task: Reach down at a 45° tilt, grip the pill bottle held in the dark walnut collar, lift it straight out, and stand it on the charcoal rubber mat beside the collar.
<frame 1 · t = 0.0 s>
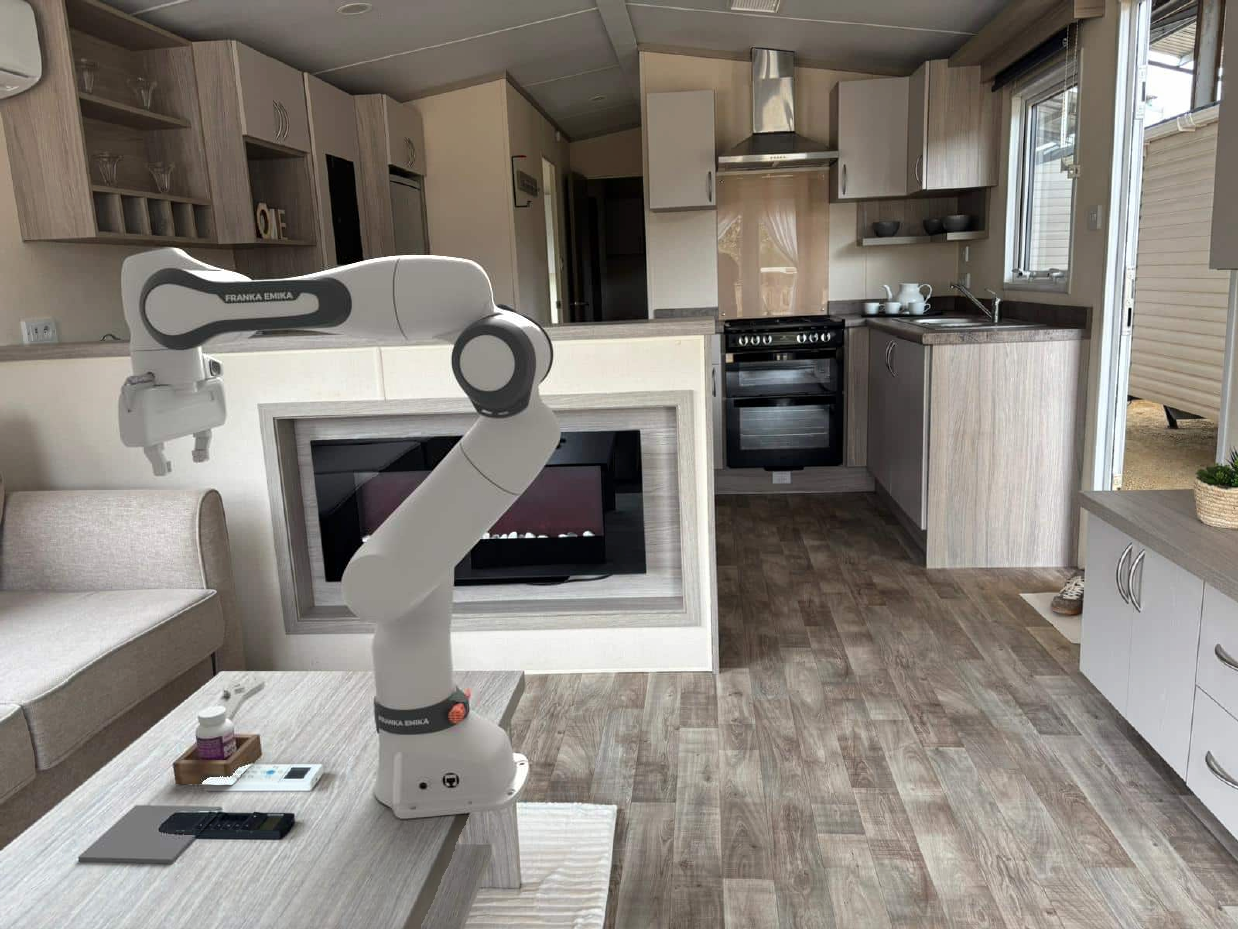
hand: (183, 468, 127), 48 cm above the table, tool pointing down, fingers open, 8 cm apart
adjustable wrench: (227, 715, 159), on the table
charcoal mat: (153, 834, 123), on the table
walnut collar: (220, 769, 140), on the table
pill bottle: (220, 770, 140), resting in walnut collar
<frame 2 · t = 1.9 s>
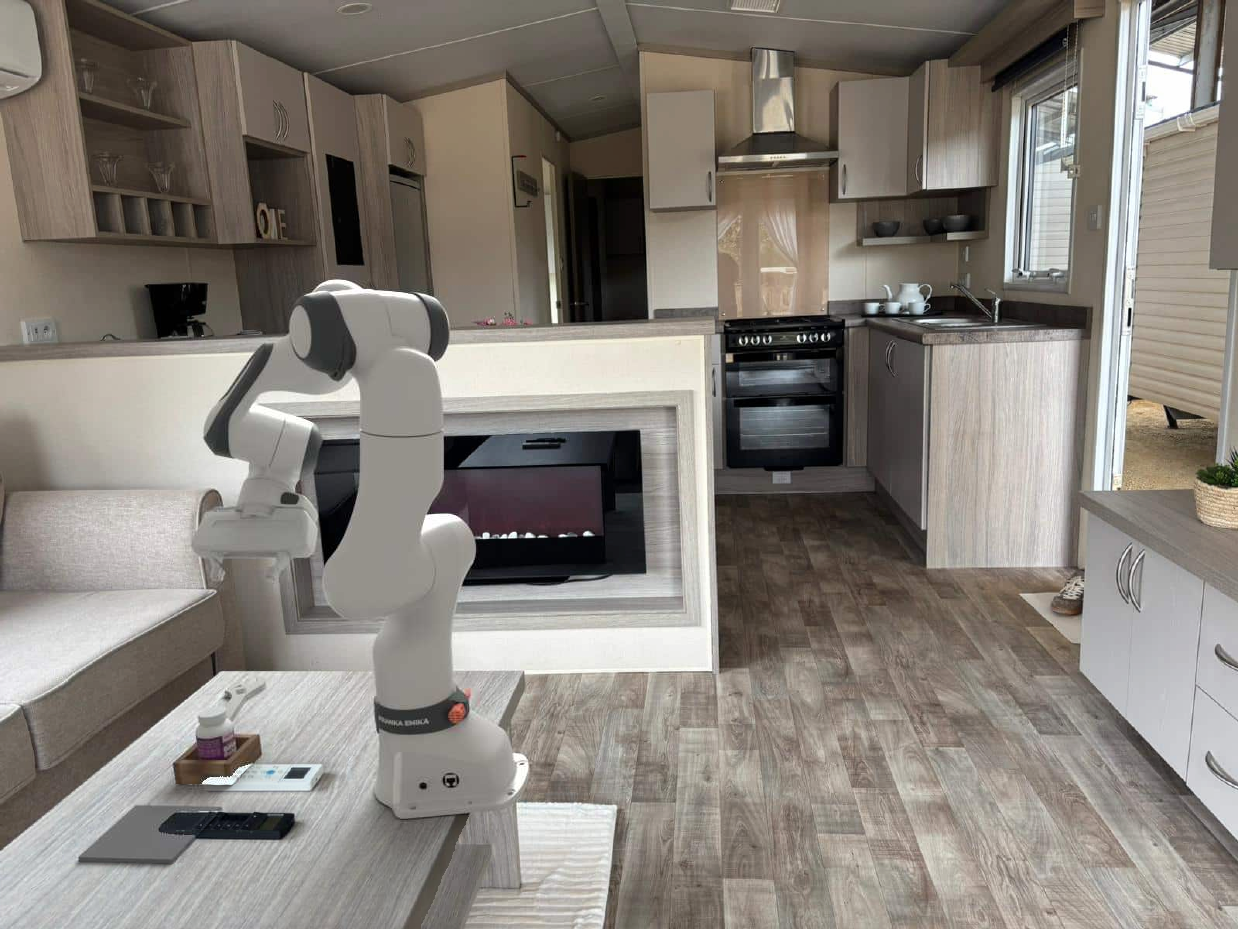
hand: (243, 579, 148), 26 cm above the table, tool tilted 45°, fingers open, 8 cm apart
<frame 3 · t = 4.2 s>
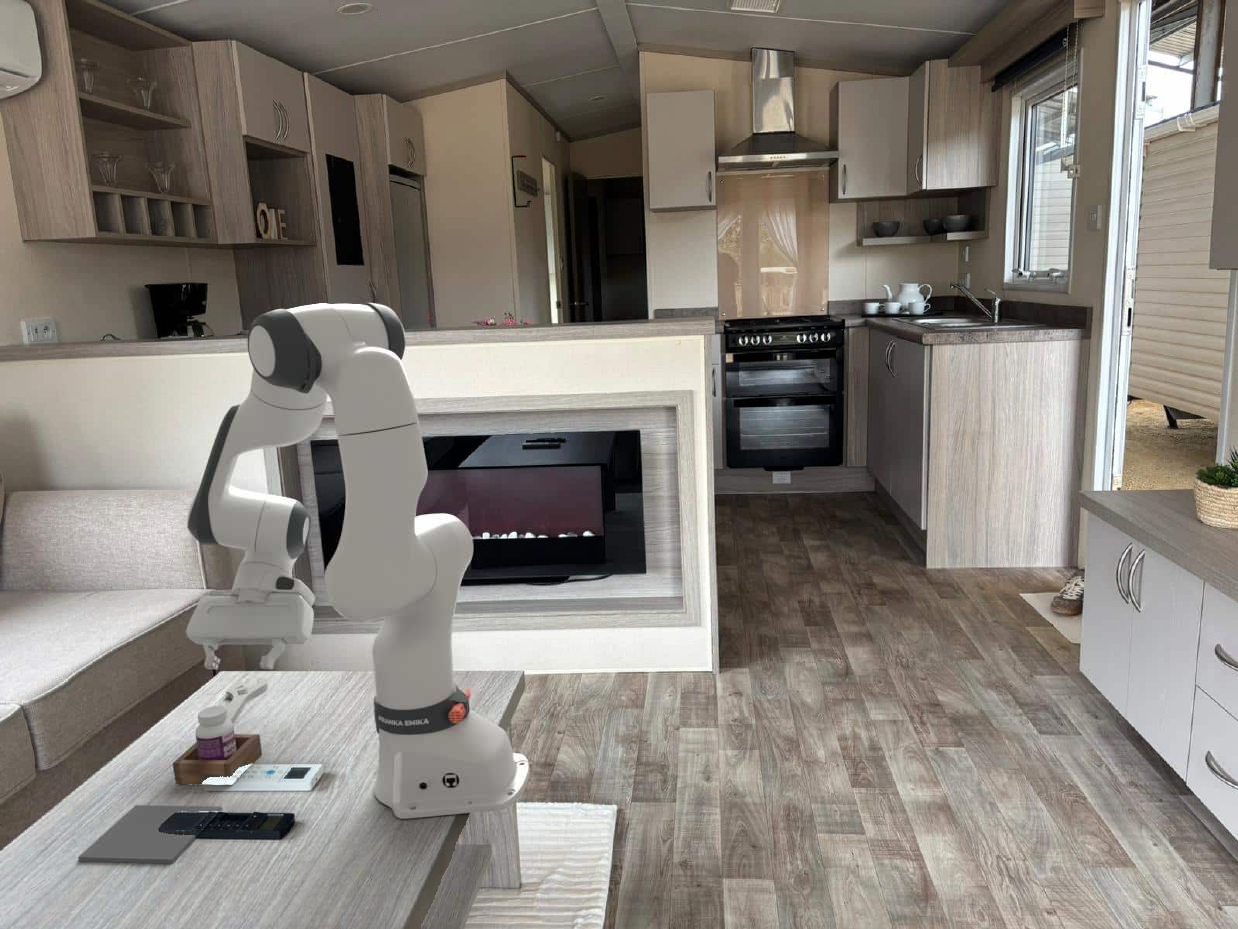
hand: (238, 668, 146), 13 cm above the table, tool tilted 45°, fingers open, 8 cm apart
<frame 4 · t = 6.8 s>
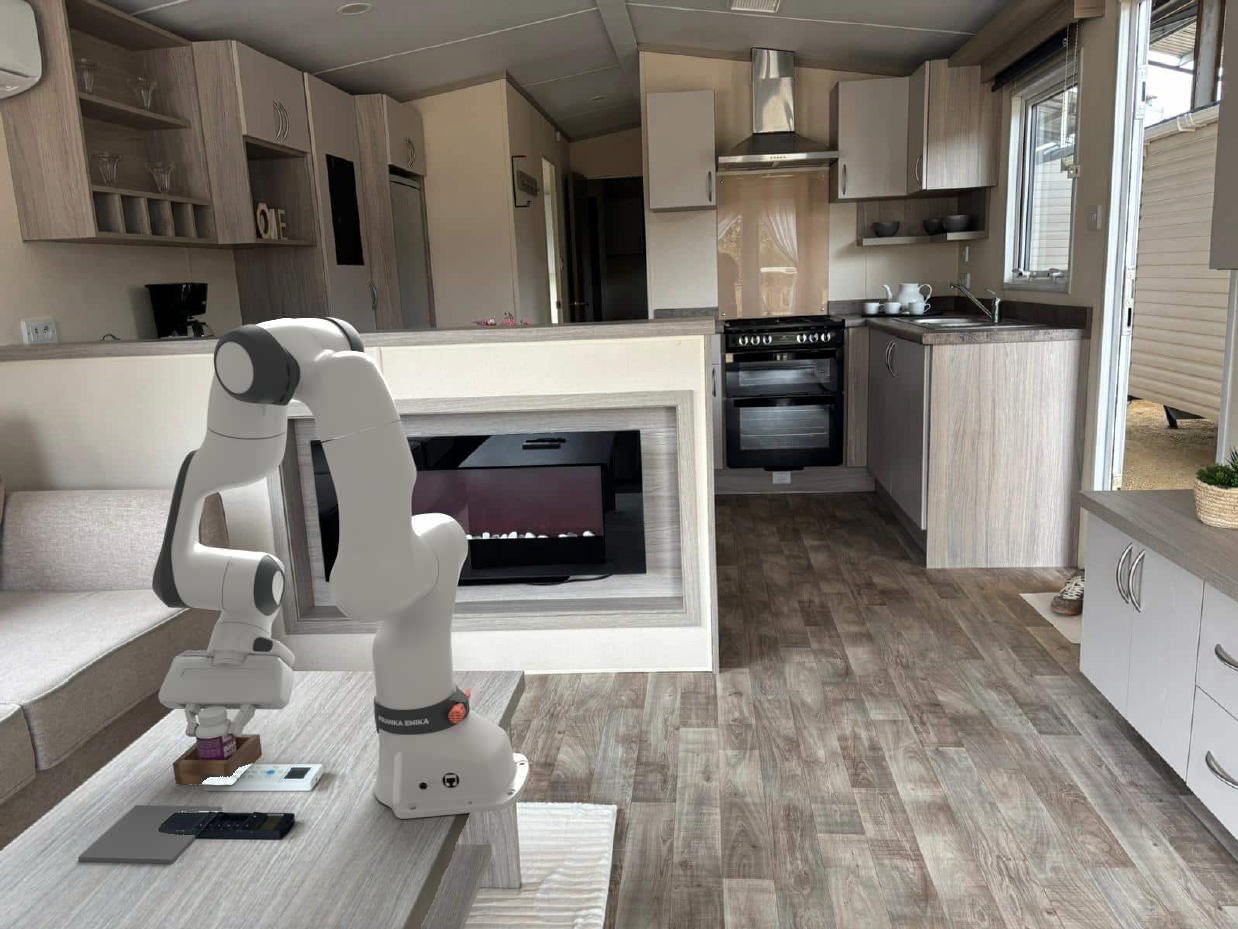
hand: (212, 736, 138), 6 cm above the table, tool tilted 45°, fingers closed on pill bottle, 5 cm apart
pill bottle: (220, 770, 140), resting in walnut collar, touching gripper
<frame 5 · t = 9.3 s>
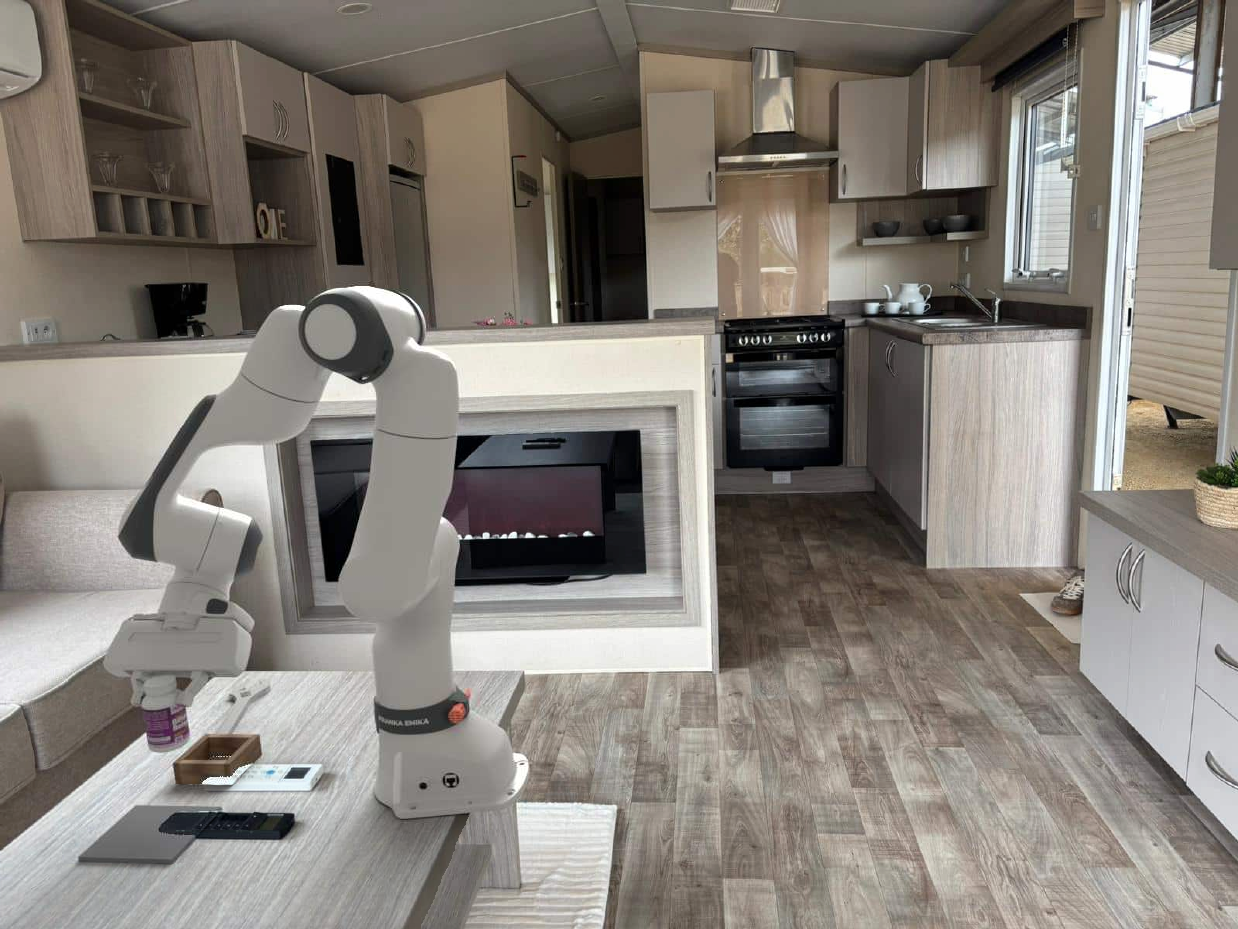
hand: (160, 705, 125), 16 cm above the table, tool tilted 45°, fingers closed on pill bottle, 5 cm apart
pill bottle: (170, 745, 127), point 10 cm above the table, touching gripper
when the fingers open (8 cm above the table, at t = 11.8 s): pill bottle stays where it is, resting on charcoal mat.
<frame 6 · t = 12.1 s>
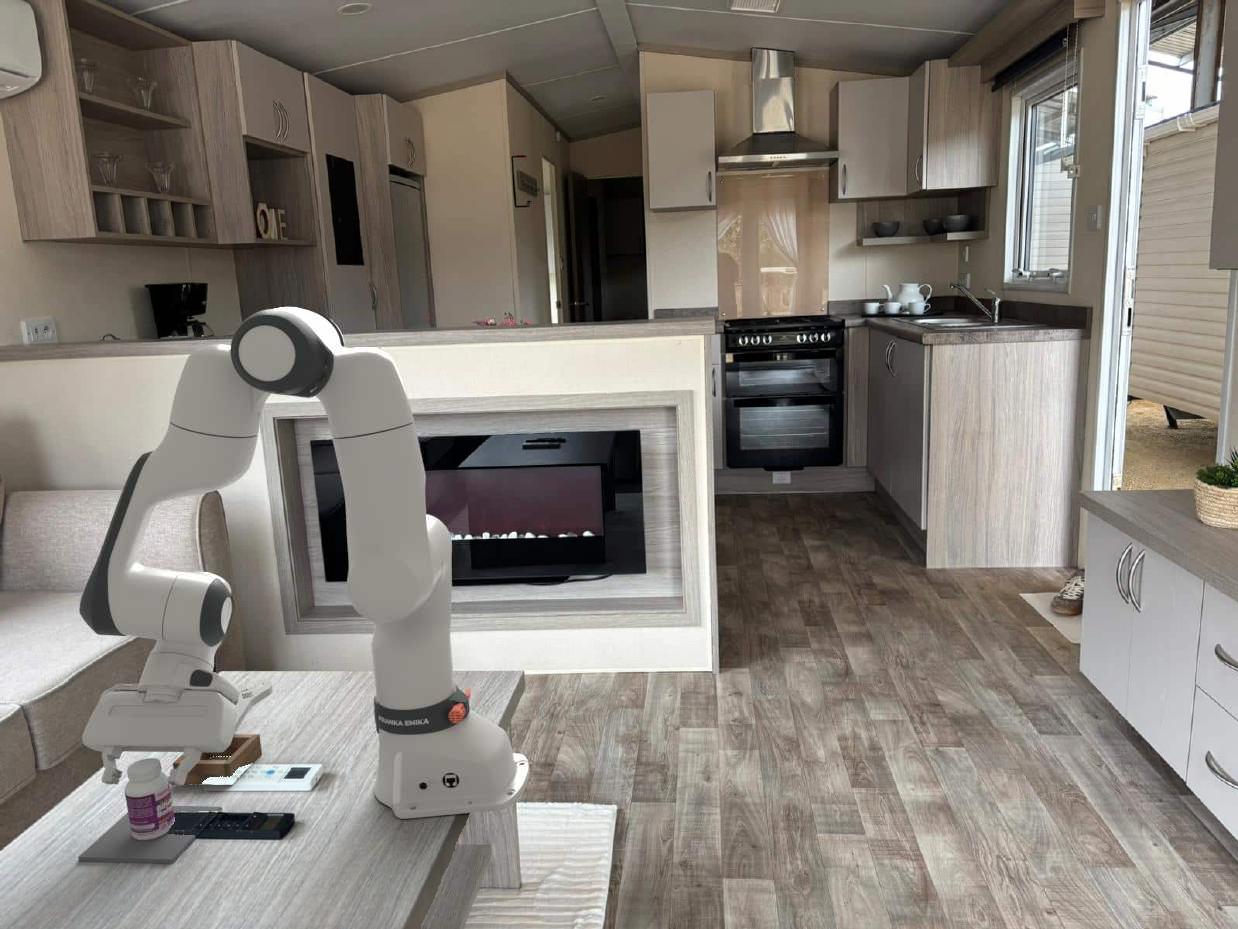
hand: (142, 784, 121), 8 cm above the table, tool tilted 45°, fingers open, 8 cm apart
pill bottle: (154, 831, 123), resting on charcoal mat
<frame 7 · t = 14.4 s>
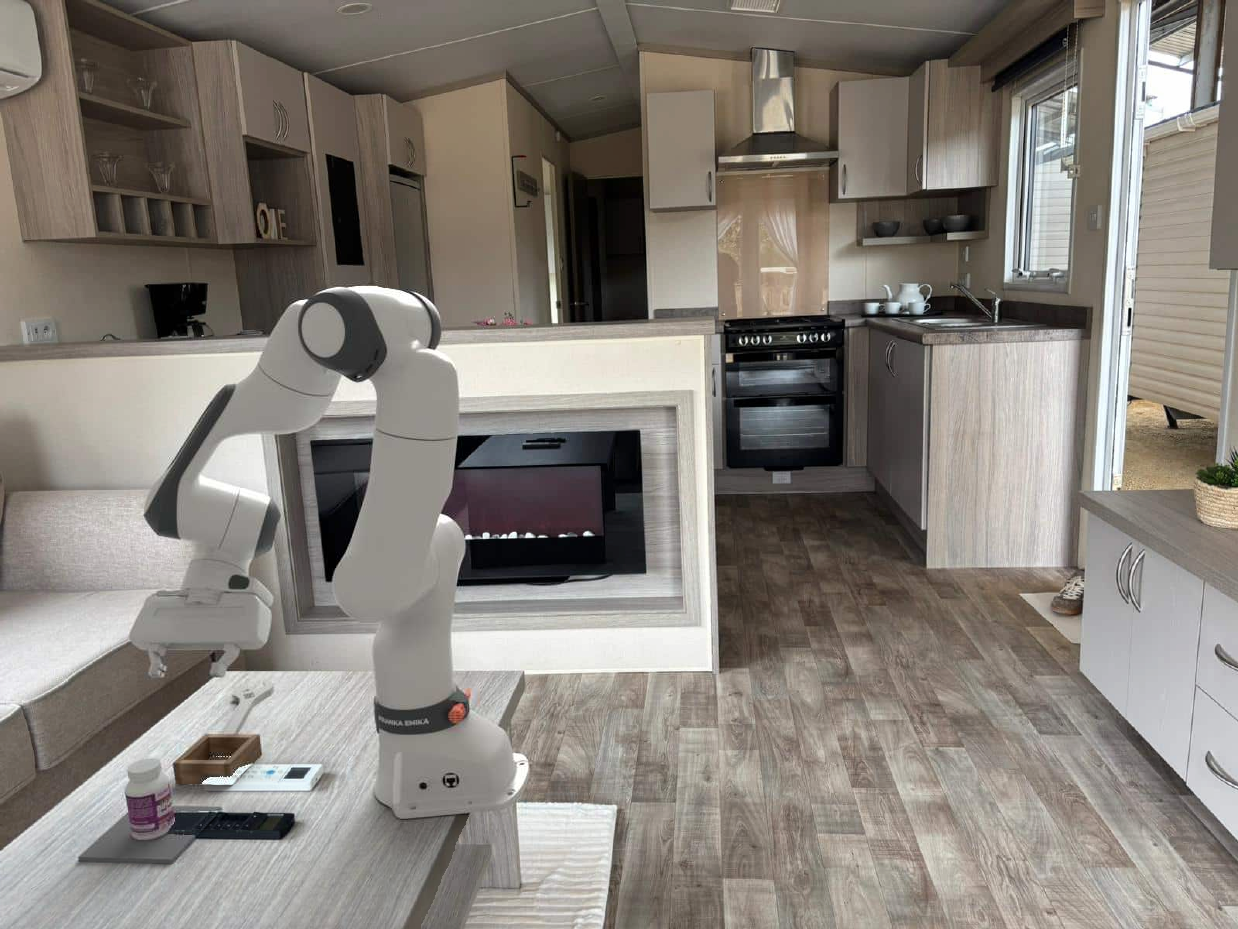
hand: (185, 676, 131), 18 cm above the table, tool tilted 45°, fingers open, 8 cm apart
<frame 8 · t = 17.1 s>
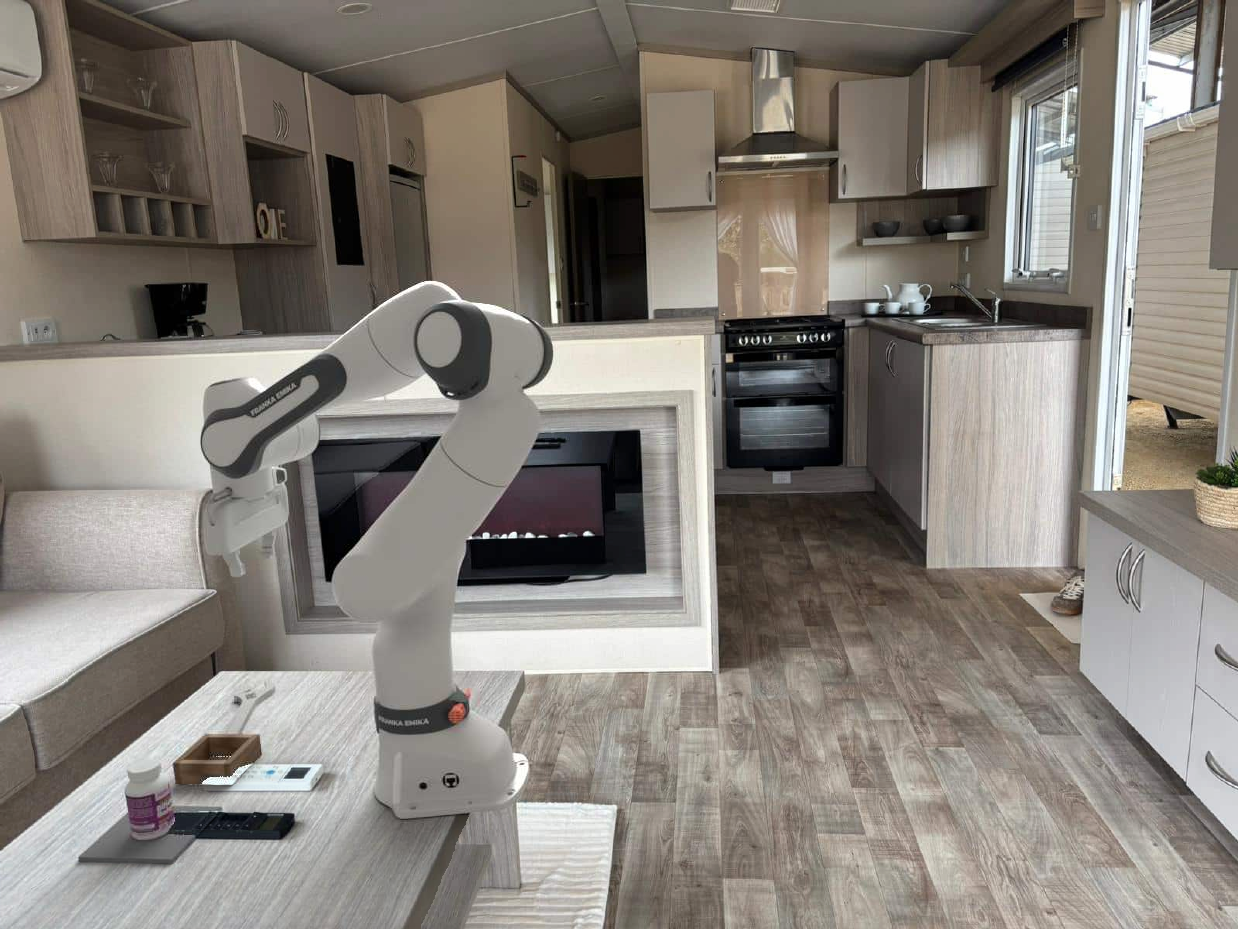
hand: (253, 566, 144), 29 cm above the table, tool pointing down, fingers open, 8 cm apart
at the end: pill bottle inside the target area on the charcoal mat (0.1 cm from its centre), point 0.4 cm above the charcoal mat's base; pill bottle tilted 0°; the gripper is holding nothing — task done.
